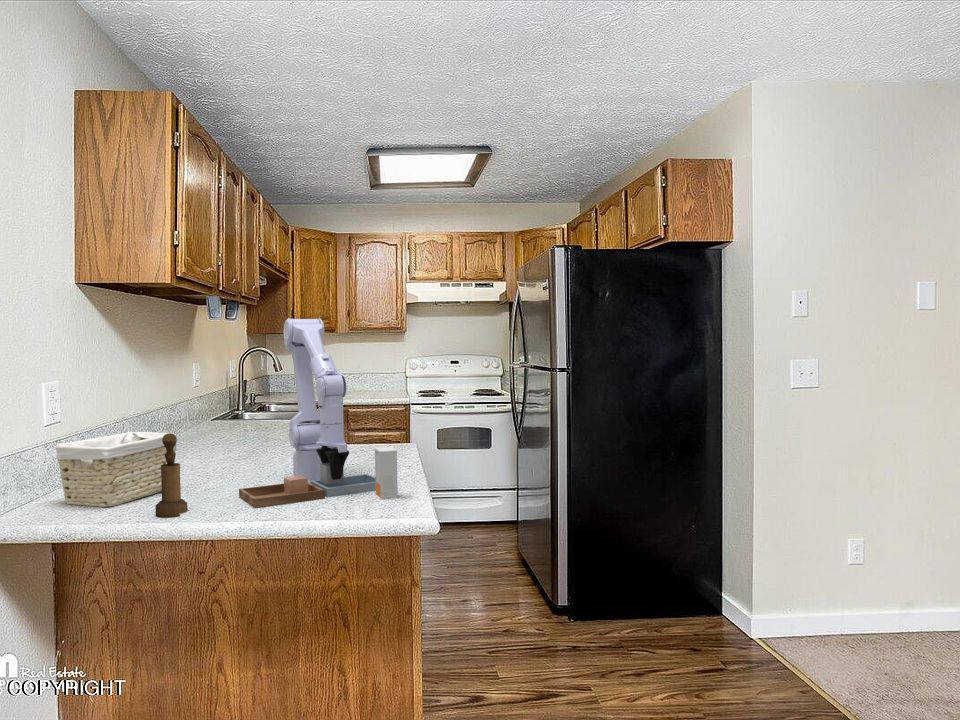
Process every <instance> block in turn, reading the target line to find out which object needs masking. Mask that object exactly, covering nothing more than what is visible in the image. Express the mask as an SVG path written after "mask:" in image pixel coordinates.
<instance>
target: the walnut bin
mask: <svg viewBox="0 0 960 720" xmlns="http://www.w3.org/2000/svg"><path fill="white" fill-rule="evenodd" d="M238 498H239V499H241V500H242V501H243V502H245V503H246V504H248V505H249V506H250V507H252V508H254V509H260V508H261V509H262V508H267V507H274V506H282V505H283V506H284V505H289V504H290V505H291V504H297V503H302V502H311V501H317V500H325V499H326V497H325V490H323V489H321V488H319V487H317V486H315V485H313V484H311V483H310V482H308V492H301V493H294V494H286V495H284V483H278V484H277V483H275V484H269V485H260V486H253V487H246V488H244V487H243V488H239V489H238Z"/></svg>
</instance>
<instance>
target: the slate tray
mask: <svg viewBox="0 0 960 720" xmlns="http://www.w3.org/2000/svg"><path fill="white" fill-rule="evenodd" d="M309 483H311V484H313V485H315V486H317V487H319V488H321V489H323V490H325V498H332V497H339V496H347V495H348V496H349V495H353V494H355V495H356V494H361V493H369V492H376V479H375V475H372V474H368V473H363V474H356V475H347V476H344V482H339V483H331V484H325V483H323V482H321V481H320V480H314V481H310V482H309Z"/></svg>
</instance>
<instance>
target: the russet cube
mask: <svg viewBox="0 0 960 720" xmlns="http://www.w3.org/2000/svg"><path fill="white" fill-rule="evenodd" d="M283 484H284V495H286V494H294V493H301V492H308V479H307V478H306V477H304V476H302V475H301V476H294V475H293V476H287V477H283Z"/></svg>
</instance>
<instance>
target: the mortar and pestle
mask: <svg viewBox="0 0 960 720" xmlns="http://www.w3.org/2000/svg"><path fill="white" fill-rule="evenodd" d="M168 433H169V434H165V435H164V436H163V438H162V442H163V444H164V446H165V447H166V450H167V452H166V454H165V458H166V462H167V464H162V465H161V484H162V491H161V500H160V501H158V502H157V504H155V506H154V507H155V509H154V510H155V516H156V517H159V518H172V517H178V516H181V514H184V513H187V512H188V511H189V509H188V501H186V500H185V499H183V498H182V496H181V495H182V492H181V489H182V488H181V463H179V462H177V463H176V461H175V460H176V455H177V453H174V450H173V449H174V446H175V444H176V445H177V443H176V442H177V441H178V438H177V435H176V434H175V433H174V434H175V435H176V436H175V435H174V434H172V433H173V432H168ZM174 461H175V463H174Z"/></svg>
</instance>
